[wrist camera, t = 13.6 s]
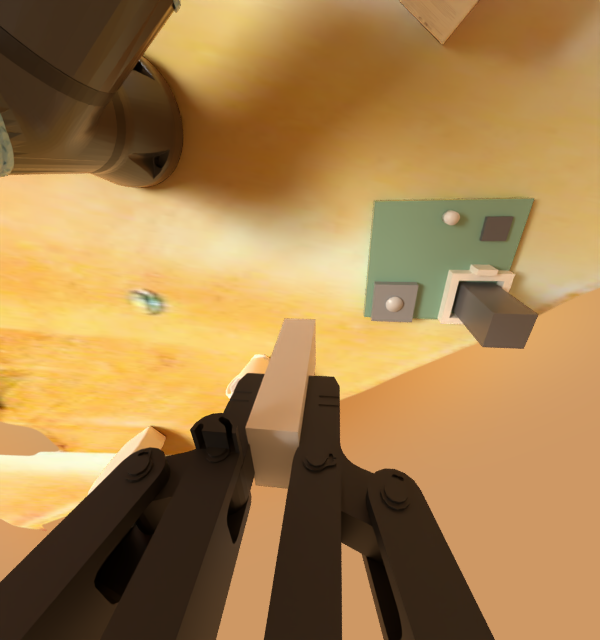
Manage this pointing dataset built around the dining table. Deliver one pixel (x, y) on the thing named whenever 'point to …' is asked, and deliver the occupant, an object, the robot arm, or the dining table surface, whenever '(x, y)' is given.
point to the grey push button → (393, 301)
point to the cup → (250, 370)
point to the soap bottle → (132, 451)
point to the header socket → (473, 274)
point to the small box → (440, 15)
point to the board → (440, 243)
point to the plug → (493, 315)
